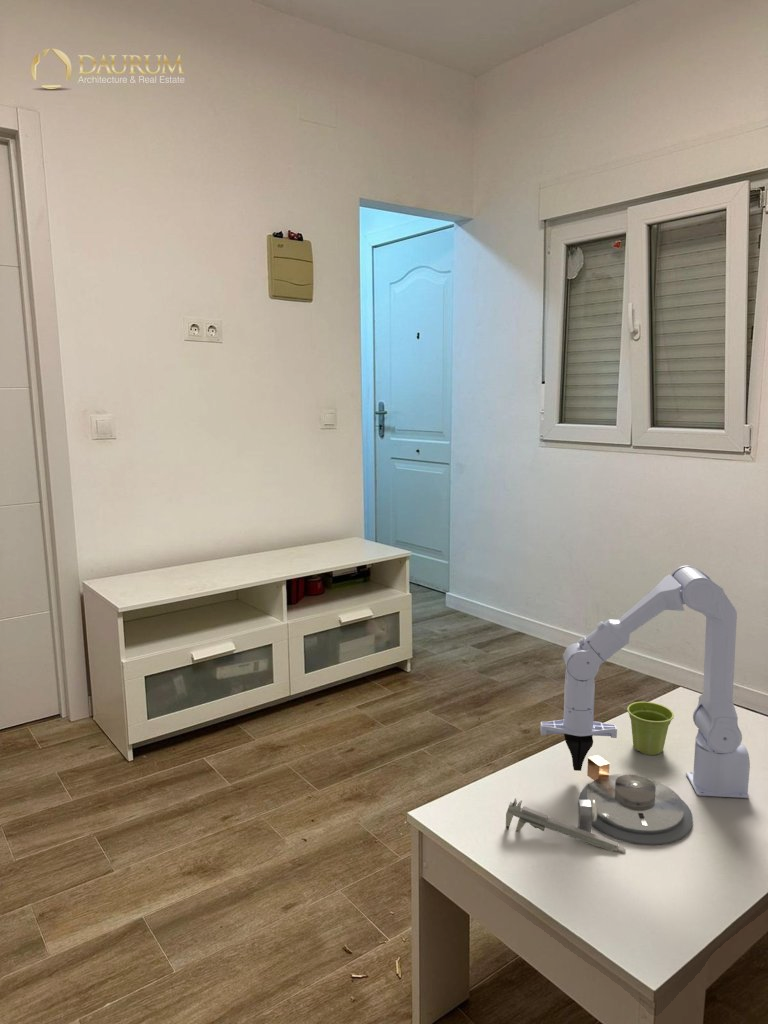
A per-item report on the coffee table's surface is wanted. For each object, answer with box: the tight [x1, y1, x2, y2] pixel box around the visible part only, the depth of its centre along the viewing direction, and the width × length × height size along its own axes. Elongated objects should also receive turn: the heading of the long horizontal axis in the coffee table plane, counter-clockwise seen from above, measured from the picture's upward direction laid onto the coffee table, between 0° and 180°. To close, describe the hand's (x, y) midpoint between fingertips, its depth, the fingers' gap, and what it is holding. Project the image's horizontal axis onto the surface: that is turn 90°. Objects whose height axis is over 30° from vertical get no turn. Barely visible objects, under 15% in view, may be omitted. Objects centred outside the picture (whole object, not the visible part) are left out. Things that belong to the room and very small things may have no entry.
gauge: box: [577, 799, 597, 833], centre depth 129 cm, size 3×4×6 cm
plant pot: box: [626, 701, 675, 756], centre depth 157 cm, size 9×9×9 cm
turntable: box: [586, 754, 684, 834], centre depth 136 cm, size 17×20×4 cm
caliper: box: [505, 797, 626, 854], centre depth 127 cm, size 20×1×6 cm, turn 70°
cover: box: [615, 774, 656, 811], centre depth 134 cm, size 7×7×3 cm
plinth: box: [577, 783, 694, 846], centre depth 135 cm, size 20×20×1 cm
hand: (576, 768), depth 145 cm, fingers closed
